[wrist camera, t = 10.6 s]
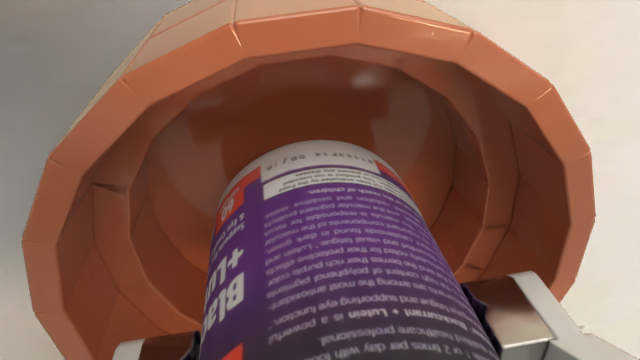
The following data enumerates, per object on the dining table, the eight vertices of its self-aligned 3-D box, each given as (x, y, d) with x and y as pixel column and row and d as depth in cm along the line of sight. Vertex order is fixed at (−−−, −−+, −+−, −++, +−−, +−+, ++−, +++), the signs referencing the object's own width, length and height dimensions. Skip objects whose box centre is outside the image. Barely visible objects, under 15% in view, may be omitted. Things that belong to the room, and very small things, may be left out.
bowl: (19, 0, 10) (-136, 69, 6) (517, -61, 11) (681, -37, 7) (167, 332, 17) (141, 473, 13) (470, 279, 18) (539, 396, 14)
